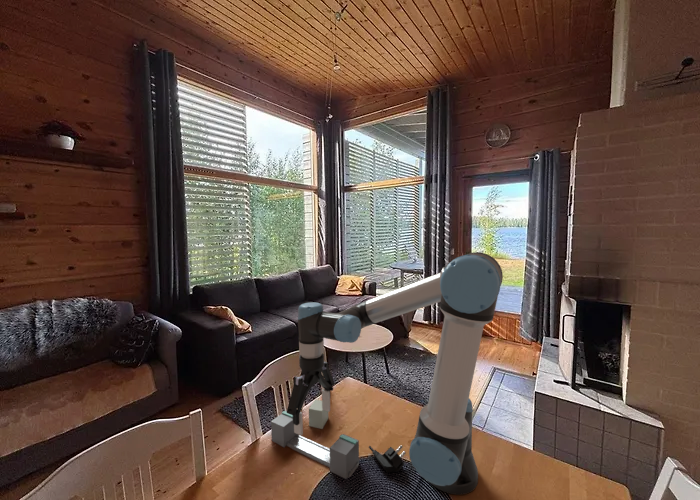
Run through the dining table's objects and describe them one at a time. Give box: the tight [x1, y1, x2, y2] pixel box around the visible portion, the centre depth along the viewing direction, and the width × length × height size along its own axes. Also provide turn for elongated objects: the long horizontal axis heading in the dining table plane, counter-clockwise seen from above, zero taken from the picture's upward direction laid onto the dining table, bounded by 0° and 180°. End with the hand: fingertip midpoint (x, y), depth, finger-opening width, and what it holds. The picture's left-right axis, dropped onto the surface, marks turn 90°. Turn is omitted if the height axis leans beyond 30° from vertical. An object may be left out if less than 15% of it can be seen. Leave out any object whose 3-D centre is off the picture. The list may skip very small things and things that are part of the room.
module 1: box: [270, 410, 296, 448], centre depth 101 cm, size 6×7×7 cm
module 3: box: [329, 433, 360, 480], centre depth 89 cm, size 6×7×7 cm
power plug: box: [368, 444, 407, 473], centre depth 91 cm, size 6×8×12 cm
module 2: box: [308, 399, 329, 430], centre depth 109 cm, size 5×6×7 cm
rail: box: [285, 434, 360, 478], centre depth 95 cm, size 30×5×1 cm, turn 58°
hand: (313, 421), depth 94 cm, fingers open, 13 cm apart
